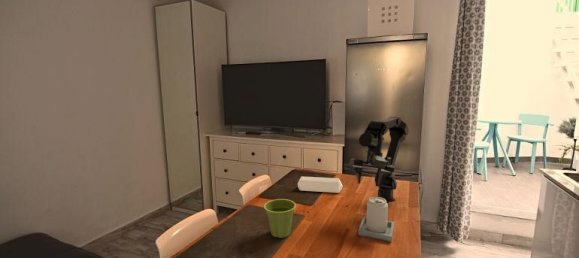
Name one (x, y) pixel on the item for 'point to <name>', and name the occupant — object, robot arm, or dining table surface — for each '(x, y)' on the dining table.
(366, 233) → the tray
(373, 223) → the can
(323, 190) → the crystal
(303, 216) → the dining table surface
